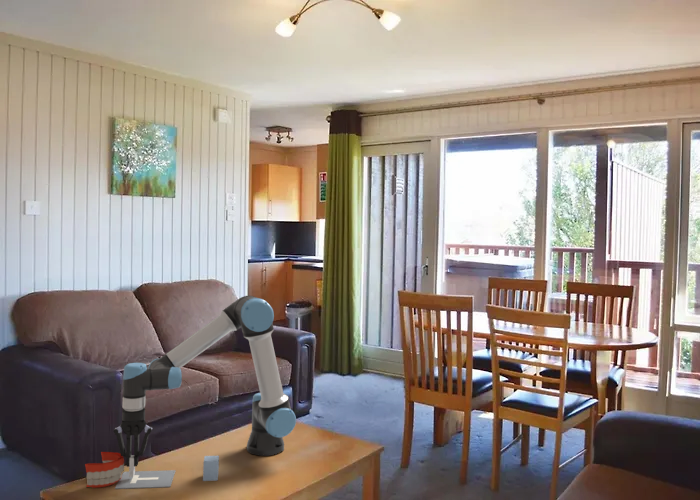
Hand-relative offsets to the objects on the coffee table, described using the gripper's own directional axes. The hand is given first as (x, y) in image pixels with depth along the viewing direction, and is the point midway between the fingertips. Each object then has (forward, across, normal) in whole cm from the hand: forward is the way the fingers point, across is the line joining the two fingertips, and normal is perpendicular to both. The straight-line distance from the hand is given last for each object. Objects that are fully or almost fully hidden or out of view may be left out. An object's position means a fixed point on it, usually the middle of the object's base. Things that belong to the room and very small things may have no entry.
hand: (131, 475), depth 205 cm
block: (+2, -27, 0) cm, 27 cm away
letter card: (+2, -5, 0) cm, 5 cm away
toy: (+2, +8, +1) cm, 8 cm away
